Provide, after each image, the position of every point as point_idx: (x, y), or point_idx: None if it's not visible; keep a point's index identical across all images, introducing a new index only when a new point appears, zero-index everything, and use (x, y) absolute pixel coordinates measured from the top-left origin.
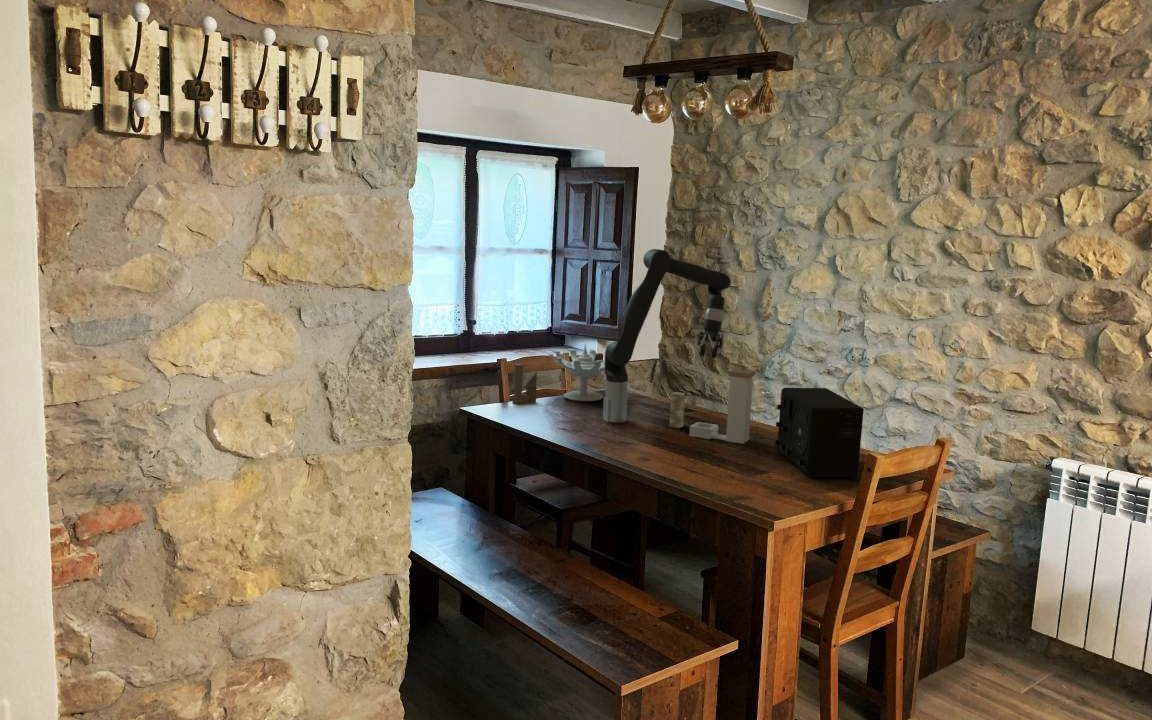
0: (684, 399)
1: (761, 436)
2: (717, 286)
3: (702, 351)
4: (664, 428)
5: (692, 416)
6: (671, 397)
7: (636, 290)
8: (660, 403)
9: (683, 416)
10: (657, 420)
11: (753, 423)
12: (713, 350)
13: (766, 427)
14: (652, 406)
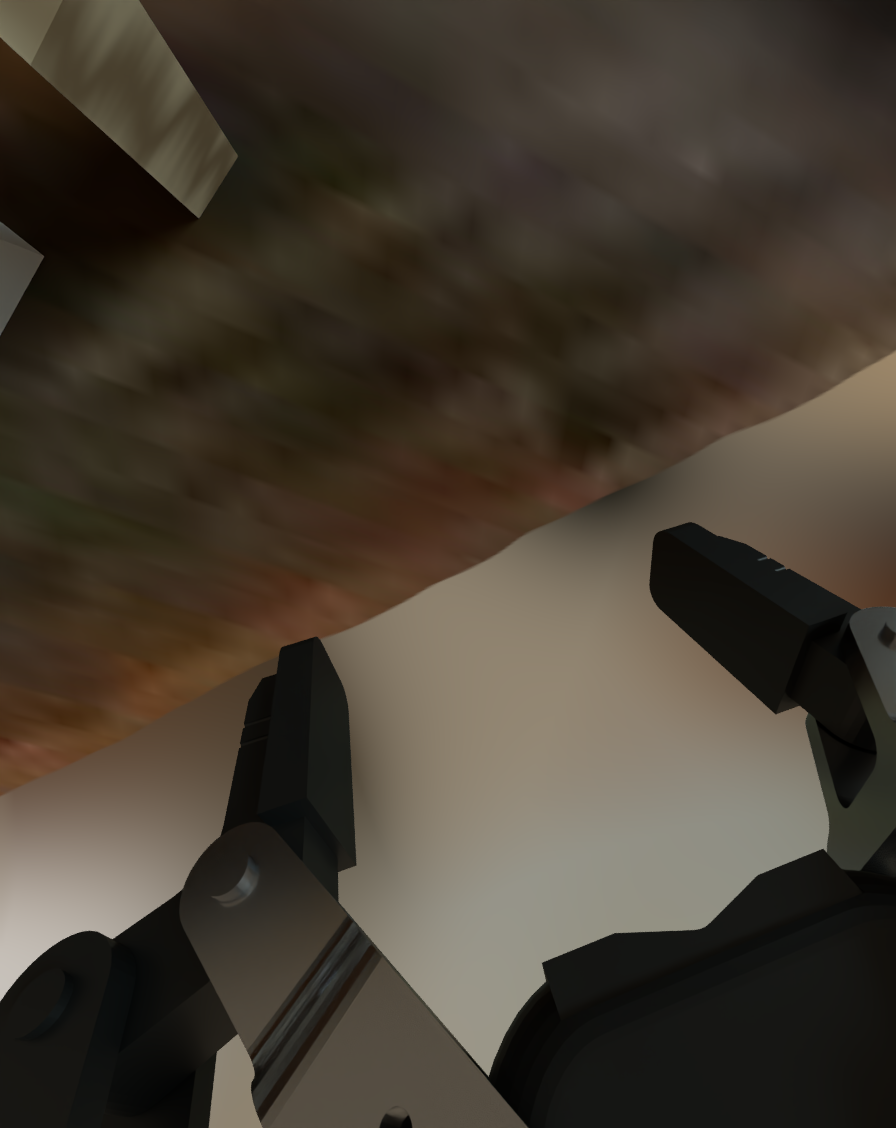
0: (76, 106)
1: (2, 596)
2: None
3: (712, 602)
4: None
5: (452, 396)
6: None
7: None
8: (779, 327)
9: (163, 185)
10: (363, 74)
11: None
12: (269, 779)
13: (209, 674)
14: (734, 235)
